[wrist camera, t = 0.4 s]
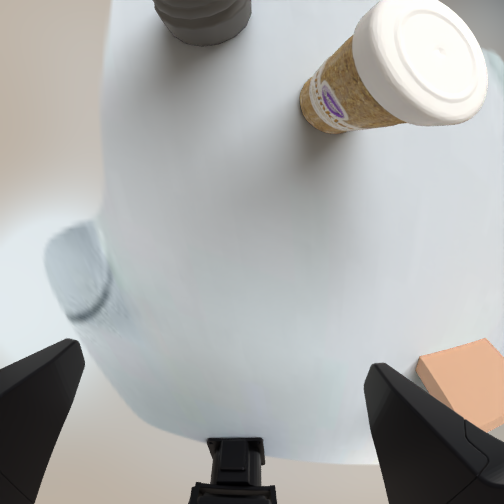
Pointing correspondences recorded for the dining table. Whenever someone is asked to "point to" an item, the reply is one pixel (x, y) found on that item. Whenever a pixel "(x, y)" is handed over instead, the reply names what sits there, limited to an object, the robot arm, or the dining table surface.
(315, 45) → the dining table surface
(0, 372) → the robot arm
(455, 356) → the tile
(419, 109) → the sprinkles bottle
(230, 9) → the candle holder
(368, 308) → the dining table surface
